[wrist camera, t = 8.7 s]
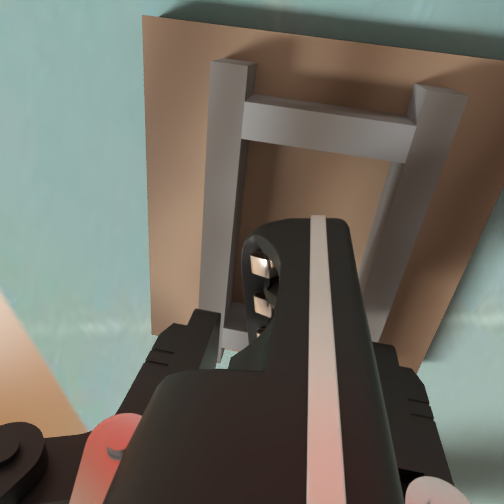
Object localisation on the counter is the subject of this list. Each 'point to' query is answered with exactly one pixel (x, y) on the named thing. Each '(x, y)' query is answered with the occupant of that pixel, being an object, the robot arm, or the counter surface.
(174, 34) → the rail block
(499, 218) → the counter surface
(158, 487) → the battery charger
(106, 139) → the counter surface
